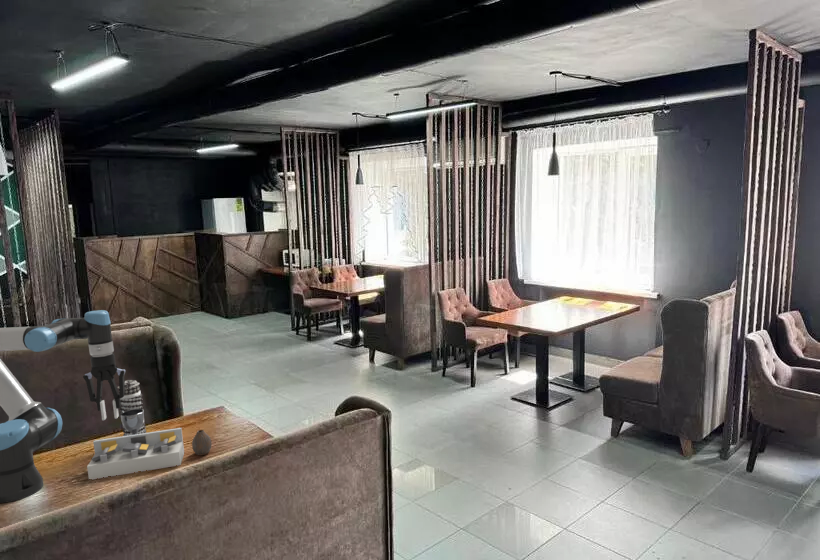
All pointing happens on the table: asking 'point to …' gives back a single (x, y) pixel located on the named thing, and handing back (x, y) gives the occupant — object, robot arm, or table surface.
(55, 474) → the table surface
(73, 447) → the table surface
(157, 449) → the switch right
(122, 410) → the decorative candle
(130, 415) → the wine glass
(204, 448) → the vase
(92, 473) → the switch unit
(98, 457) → the switch left
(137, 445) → the switch middle
